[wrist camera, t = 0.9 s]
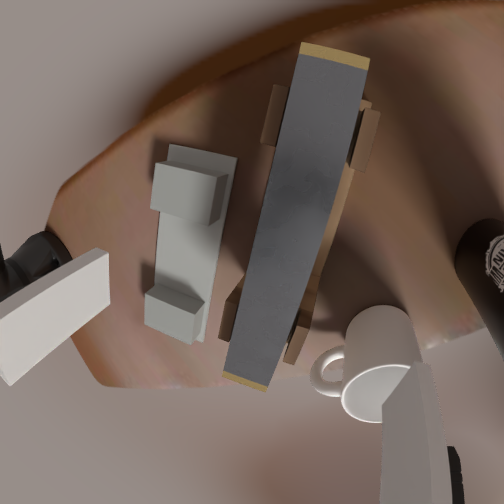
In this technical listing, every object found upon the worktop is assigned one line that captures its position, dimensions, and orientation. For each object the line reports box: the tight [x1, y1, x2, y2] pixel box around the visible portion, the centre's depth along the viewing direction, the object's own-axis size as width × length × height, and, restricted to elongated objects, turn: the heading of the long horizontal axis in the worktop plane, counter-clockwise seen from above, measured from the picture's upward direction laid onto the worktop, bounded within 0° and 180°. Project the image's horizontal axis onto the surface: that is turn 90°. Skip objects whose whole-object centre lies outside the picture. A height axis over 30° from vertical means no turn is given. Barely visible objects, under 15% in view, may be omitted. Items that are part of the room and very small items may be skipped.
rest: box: [145, 144, 238, 345], centre depth 34 cm, size 8×24×3 cm, turn 168°
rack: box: [218, 84, 381, 365], centre depth 25 cm, size 7×24×10 cm, turn 168°
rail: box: [222, 42, 370, 392], centre depth 20 cm, size 26×4×4 cm, turn 167°
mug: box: [310, 305, 423, 423], centre depth 28 cm, size 12×8×10 cm
